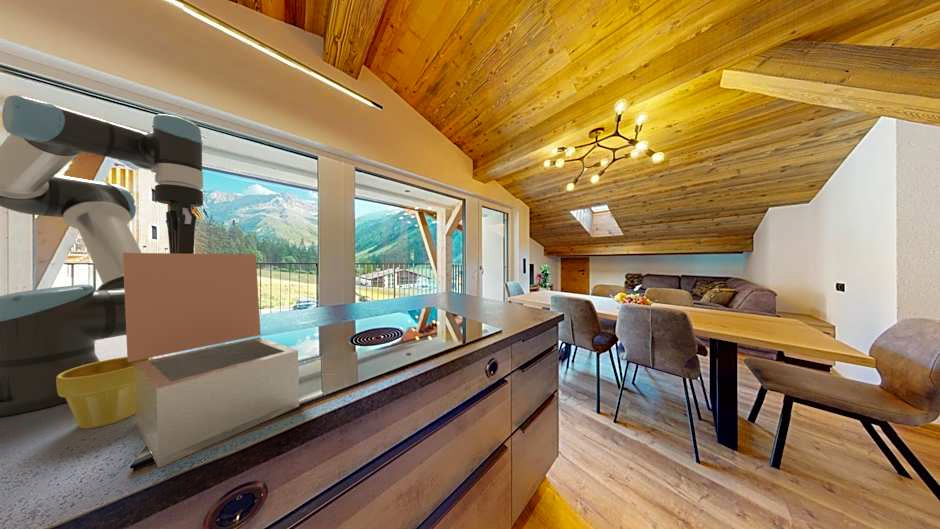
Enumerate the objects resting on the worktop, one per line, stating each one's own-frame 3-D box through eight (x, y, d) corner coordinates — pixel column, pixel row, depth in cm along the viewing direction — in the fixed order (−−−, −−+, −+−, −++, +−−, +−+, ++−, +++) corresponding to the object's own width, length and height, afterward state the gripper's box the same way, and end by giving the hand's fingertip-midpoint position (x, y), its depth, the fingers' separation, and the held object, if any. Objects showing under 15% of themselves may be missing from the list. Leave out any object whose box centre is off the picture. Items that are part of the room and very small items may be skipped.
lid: (128, 361, 46) (125, 359, 48) (260, 335, 62) (254, 334, 64) (123, 252, 46) (120, 255, 48) (255, 254, 62) (249, 256, 64)
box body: (135, 426, 46) (133, 363, 46) (260, 384, 61) (259, 337, 61) (158, 468, 36) (156, 389, 36) (299, 406, 52) (298, 350, 52)
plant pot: (83, 440, 42) (81, 379, 42) (41, 432, 44) (39, 375, 44) (168, 405, 53) (167, 356, 52) (131, 400, 55) (129, 353, 54)
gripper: (149, 188, 62) (151, 288, 62) (161, 178, 55) (164, 291, 55) (194, 194, 68) (196, 285, 68) (211, 186, 61) (213, 288, 61)
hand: (182, 288), depth 62 cm, fingers closed
